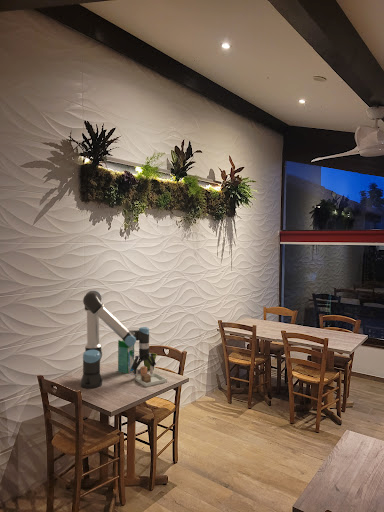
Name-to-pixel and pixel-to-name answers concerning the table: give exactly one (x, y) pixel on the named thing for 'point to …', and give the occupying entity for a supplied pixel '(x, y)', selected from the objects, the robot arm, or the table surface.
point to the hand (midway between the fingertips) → (143, 376)
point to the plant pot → (150, 360)
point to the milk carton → (125, 357)
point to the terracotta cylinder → (143, 370)
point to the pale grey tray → (152, 380)
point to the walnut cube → (146, 378)
